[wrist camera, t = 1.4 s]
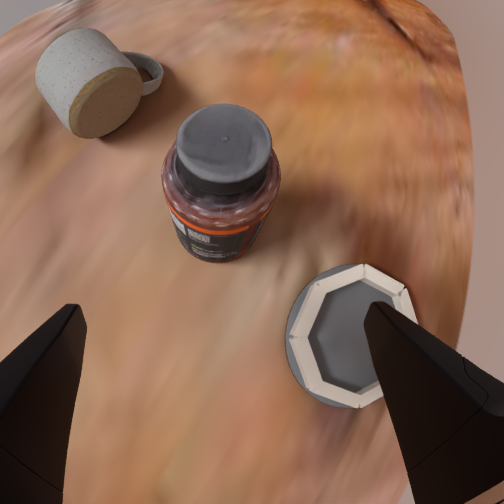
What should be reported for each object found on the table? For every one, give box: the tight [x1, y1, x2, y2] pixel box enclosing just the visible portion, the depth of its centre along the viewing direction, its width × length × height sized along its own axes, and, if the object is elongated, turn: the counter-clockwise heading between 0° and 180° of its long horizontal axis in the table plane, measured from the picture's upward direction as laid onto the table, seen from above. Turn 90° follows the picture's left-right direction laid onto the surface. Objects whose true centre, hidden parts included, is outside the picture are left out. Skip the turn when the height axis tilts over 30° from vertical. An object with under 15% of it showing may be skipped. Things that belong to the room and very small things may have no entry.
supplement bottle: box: [161, 104, 281, 263], centre depth 18 cm, size 6×6×11 cm
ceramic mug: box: [35, 28, 164, 139], centre depth 21 cm, size 11×8×8 cm
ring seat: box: [285, 264, 418, 408], centre depth 22 cm, size 11×11×2 cm
